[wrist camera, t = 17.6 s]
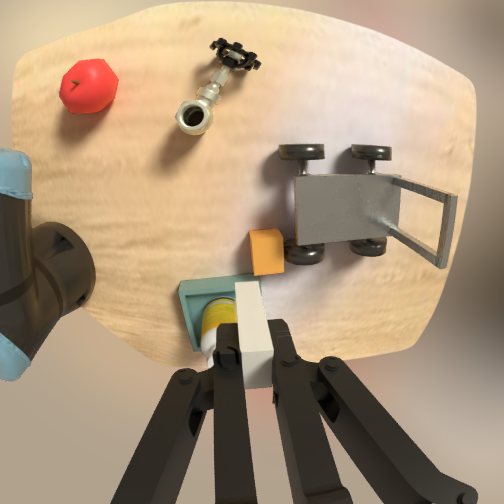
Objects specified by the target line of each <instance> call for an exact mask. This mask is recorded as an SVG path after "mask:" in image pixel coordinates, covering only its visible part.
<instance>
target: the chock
mask: <svg viewBox="0 0 504 504" xmlns="http://www.w3.org/2000/svg"><path fill="white" fill-rule="evenodd" d="M249 236H250V249H251V262H252V267H253V272H254V276H257V275H266V274H275V273H284V248H283V236H282V235H281V233H280V231H279V230H278V228H274V229H263V230H253V231H249Z"/></svg>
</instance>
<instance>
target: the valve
mask: <svg viewBox="0 0 504 504" xmlns="http://www.w3.org/2000/svg"><path fill="white" fill-rule="evenodd" d="M242 47H243V46H242V45H241V44H240V43H238V42H234V43H233V45H232V44H229V43H227V41H226V40H225V39H223V38H219V39H218V40H217V41H213V43H212V44H211V45H210V48H211V49H212V50H214V49H215V48H218V50H217V53H216V55H217V58H218V59H219V60H220V61H221V62H220V66H221V67H222V68H221V70H220V71H215V73H214V74H213V76H212V77H211V79H210V81H211V84H210V85H206V87H205V88H204V87H199V89H198V91H197V92H196V95H197V98H196V99H195V101H185V102H183V103H182V105H181V106H180V108H179V110H178V112H177V114H176V116H175V118H176V120H177V121H178V124H179V127H180V128H181V129H182V131H184V132H185V133H187V134H190V135H200V134H202V133H204V132H206V131H207V130H208V129H209V128H210V126H211V125H212V122H213V112H212V108H213V106H214V104H216V105H217V104H218V103H219V101H220V100H221V96H220V95H218V93H219V92H220V90H219V87H220V86H221V87H223V85H224V84H225V82H226V81H227V79H228V76H227V74H228V72H229V71H232V72H233V71H234V70H235V69H236V68H238V69H241V68H244V69H245V70H248V71H250V70H251V69H252V67H253V66H254V67H253V69H255V70H258V68H259V67H260V65H261V62H260V61H258V60H255V59H256V58H257V55H256V54H255V53H253V52H246V51H245V50H243V49H242ZM226 49H228V50H230V51H229V52H228V51H227V50H226ZM223 56H225V57H223ZM242 56H243V57H244V58H245V59H241V58H242ZM196 111H200V112H203V113H204V118H203V120H202V122H201V123H200V124H198V125H196V126H193V127H191V126H190V125H189V123H188V119H189V117H190V115H191V114H192V113H194V112H196Z"/></svg>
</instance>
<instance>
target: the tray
mask: <svg viewBox="0 0 504 504" xmlns="http://www.w3.org/2000/svg"><path fill="white" fill-rule="evenodd" d="M252 281H258V283H259V288H260V292H261V282H260V278H259V275H257V276H254V273H253V274H244V275H235V276H225V277H216V278H206V279H196V280H185V281H181V282H180V286H179V290H178V292H179V297H180V301H181V305H182V309H183V313H184V318H185V321H186V325H187V329H188V333H189V337H190V341H191V344H192V348H193V351H202V350H201V333H202V319H203V310H204V307H205V305H206V304H207V303H208V302H209V301H210V300H212V299H213V298H216V297H220V296H228V297H232V298H234V299H236V294H235V282H252ZM261 296H262V294H261Z"/></svg>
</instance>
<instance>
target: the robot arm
mask: <svg viewBox="0 0 504 504" xmlns="http://www.w3.org/2000/svg"><path fill="white" fill-rule="evenodd" d="M31 182H32V165H31V161H30V159H29V157H28V156H27V155H26V154H25V153H23V152H21V151H17V150H11V149H4V148H0V379H2V380H5V381H15V380H17V379H19V378H20V377H21V375H22V374H23V372H24V371H25V370H26V369H27V367H29V366H30V365H31V361H32V359H33V358H34V356H35V354H36V353H37V351H38V350H39V348H40V347H41V345H42V343H43V342H44V340H45V339H46V337H47V336H48V334H49V333H50V332H51V330H52V329H53V327H54V326H55V324H56V323H57V321H58V320H59V319H60V318H61V317H62V316H64V315H66V314H68V313H70V312H72V311H74V310H76V309H78V308H79V307H81V306H82V305H83V304H84V303H85V302H86V300H87V299H88V298H89V296H90V295H91V293H92V291H93V289H94V285H95V278H96V275H95V267H94V262H93V259H92V256H91V254H90V252H89V250H88V248H87V246H86V245H85V243H84V242H83V240H82V239H81V238H80V237H79V236H78V235H77V234H76V233H75V232H74V231H73V230H72V229H70V228H69V227H67V226H65V225H63V224H60V223H57V222H46V223H43V224H41V225H39V226H37V227H36V228H34V229H33V230H32V228H31V201H32V199H33V193H32V184H31ZM235 294H236V312H237V323H220V324H219V326H218V327H217V329H216V349H215V350H214V351H213V354H212V356H213V363H214V365H213V366H212V367H211V368H209V369H208V370H205V371H202V372H199V373H198V372H196V371H195V370H193V369H190V368H184V369H180V370H178V371H176V372H175V373H174V374H173V375H172V377H171V379H170V381H169V383H168V385H167V387H166V389H165V391H164V393H163V395H162V397H161V399H160V401H159V403H158V405H157V407H156V410H155V411H154V414H153V415H152V418H151V419H150V421H149V424H148V426H147V428H146V430H145V432H144V434H143V436H142V438H141V440H140V442H139V444H138V446H137V448H136V450H135V453H134V455H133V457H132V459H131V461H130V463H129V465H128V467H127V469H126V471H125V474H124V475H123V478H122V480H121V482H120V484H119V486H118V488H117V490H116V492H115V495H114V497H113V499H112V501H111V503H110V504H175V503H176V500H177V497H178V494H179V491H180V489H181V485H182V483H183V480H184V477H185V474H186V471H187V468H188V465H189V463H190V460H191V456H192V454H193V450H194V448H195V445H196V442H197V439H198V436H199V433H200V430H201V427H202V424H203V421H204V419H205V415H206V413H207V410H210V409H214V470H215V504H258V503H257V496H256V488H255V480H254V472H253V463H252V455H251V447H250V437H249V427H248V418H247V409H246V399H245V389H255V388H266V387H272V384H273V403H275V408H276V414H277V419H278V424H279V430H280V435H281V440H282V446H283V451H284V456H285V461H286V467H287V472H288V476H289V482H290V487H291V492H292V498H293V502H294V504H353V502H352V498H351V495H350V493H349V491H348V490H347V489H346V488H345V487H343V486H342V484H341V481H340V478H339V474H338V471H337V468H336V465H335V461H334V458H333V455H332V452H331V448H330V445H329V442H328V439H327V436H326V433H325V429H324V426H323V423H322V420H321V417H320V414H321V415H322V417H323V418H324V420H325V421H326V423H327V424H328V426H329V427H330V429H331V430H332V432H333V433H334V434H335V436H336V437H337V439H338V440H339V442H340V443H341V445H342V446H343V448H344V449H345V450H346V452H347V453H348V455H349V456H350V458H351V459H352V460H353V462H354V463H355V465H356V466H357V467H358V469H359V470H360V472H361V473H362V474H363V476H364V477H365V479H366V480H367V481H368V483H369V484H370V485H371V487H372V488H373V489H374V491H375V492H376V494H377V495H378V496H379V498H380V499H381V500H382V502H383V503H384V504H476V503H477V500H478V493H477V491H476V489H474V488H473V487H471V486H469V485H467V484H465V483H462V482H460V481H458V480H456V479H454V478H452V477H449V476H447V475H445V474H443V473H441V472H440V471H439V470H438V469H437V468H436V467H435V465H434V464H433V463H432V462H431V461H430V460H429V459H428V458H427V457H426V455H425V454H424V453H423V452H422V451H421V450H420V448H419V447H418V446H417V445H416V444H415V443H414V442H413V440H412V439H411V438H410V437H409V436H408V435H407V434H406V432H405V431H404V430H403V429H402V428H401V427H400V426H399V425H398V423H397V422H396V421H395V420H394V419H393V418H392V416H391V415H390V414H389V413H388V412H387V411H386V410H385V408H384V407H383V406H382V405H381V404H380V403H379V402H378V400H377V399H376V398H375V397H374V396H373V395H372V394H371V392H370V391H369V390H368V389H367V388H366V387H365V386H364V384H363V383H362V382H361V381H360V380H359V379H358V377H357V376H356V375H355V374H354V373H353V372H352V371H351V369H350V368H349V367H348V366H347V365H346V364H345V363H344V361H342V360H341V359H340V358H337V357H333V356H329V357H325V358H323V359H321V360H320V362H319V363H315V362H308V361H305V360H303V359H301V357H300V356H299V355H297V353H296V350H295V347H294V343H293V340H292V337H291V334H290V331H289V328H288V325H287V323H286V322H285V321H284V320H283V319H274V320H267V318H266V314H265V310H264V305H263V301H262V296H261V292H260V288H259V283H258V281H252V282H235ZM319 412H320V414H319Z"/></svg>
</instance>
